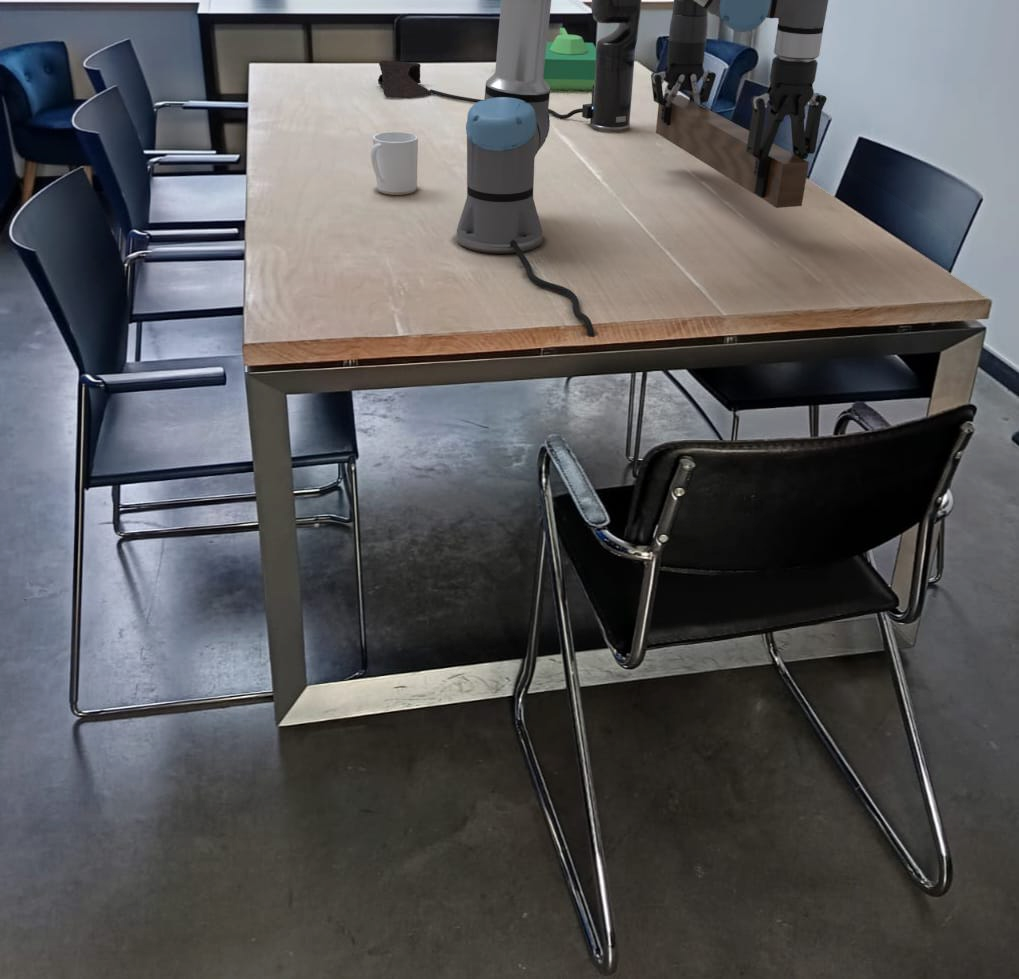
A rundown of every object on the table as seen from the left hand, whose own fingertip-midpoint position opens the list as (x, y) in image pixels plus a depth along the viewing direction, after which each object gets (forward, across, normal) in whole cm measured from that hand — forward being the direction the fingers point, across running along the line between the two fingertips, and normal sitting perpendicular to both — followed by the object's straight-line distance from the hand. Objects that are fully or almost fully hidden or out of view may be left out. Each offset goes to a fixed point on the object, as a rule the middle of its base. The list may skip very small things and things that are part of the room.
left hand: (774, 194), depth 197 cm
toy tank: (+9, -11, -141) cm, 141 cm away
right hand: (-3, 0, -42) cm, 42 cm away
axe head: (+9, +38, -135) cm, 141 cm away
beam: (+1, 0, -21) cm, 21 cm away
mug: (+9, +60, -44) cm, 75 cm away
